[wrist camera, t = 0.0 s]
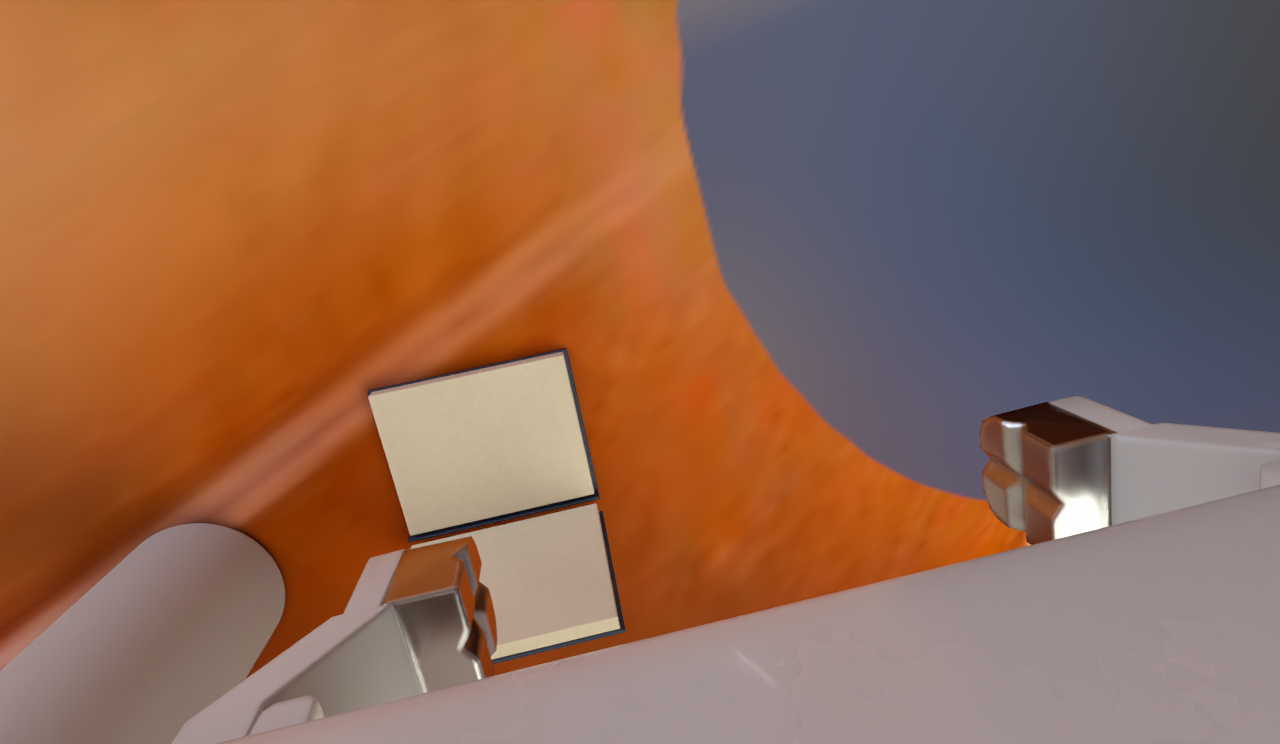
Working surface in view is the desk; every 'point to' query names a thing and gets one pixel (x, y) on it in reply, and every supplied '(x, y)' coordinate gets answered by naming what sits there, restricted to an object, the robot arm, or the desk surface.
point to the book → (485, 444)
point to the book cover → (548, 581)
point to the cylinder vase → (147, 643)
